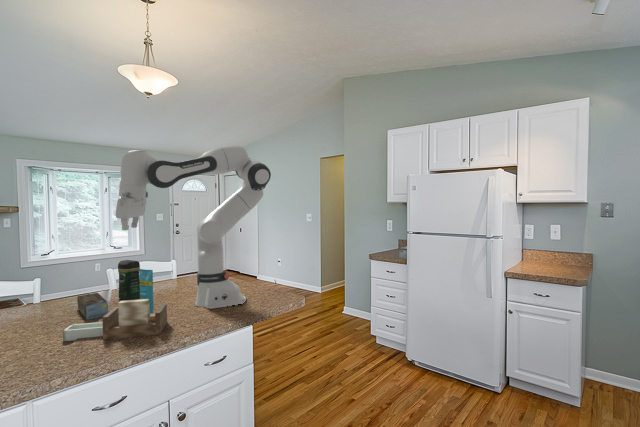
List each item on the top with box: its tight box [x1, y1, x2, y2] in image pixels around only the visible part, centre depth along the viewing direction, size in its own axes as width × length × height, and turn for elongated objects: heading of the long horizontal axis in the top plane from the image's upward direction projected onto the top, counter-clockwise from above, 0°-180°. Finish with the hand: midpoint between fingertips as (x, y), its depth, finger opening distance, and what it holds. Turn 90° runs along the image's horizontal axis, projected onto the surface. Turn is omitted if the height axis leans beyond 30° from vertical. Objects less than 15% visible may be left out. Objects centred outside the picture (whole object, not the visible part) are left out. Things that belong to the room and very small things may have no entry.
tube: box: [139, 268, 155, 313], centre depth 133 cm, size 7×5×19 cm, turn 72°
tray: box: [62, 321, 103, 342], centre depth 114 cm, size 12×6×4 cm, turn 104°
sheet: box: [117, 299, 150, 327], centre depth 114 cm, size 9×2×12 cm, turn 104°
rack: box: [101, 302, 168, 340], centre depth 117 cm, size 18×11×8 cm, turn 104°
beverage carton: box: [77, 292, 109, 320], centre depth 139 cm, size 8×19×7 cm, turn 44°
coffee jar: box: [117, 259, 141, 301], centre depth 159 cm, size 10×8×19 cm
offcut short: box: [150, 312, 156, 323], centre depth 120 cm, size 6×4×2 cm
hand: (129, 228), depth 126 cm, fingers open, 8 cm apart
